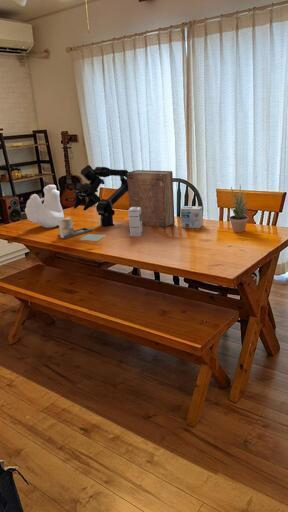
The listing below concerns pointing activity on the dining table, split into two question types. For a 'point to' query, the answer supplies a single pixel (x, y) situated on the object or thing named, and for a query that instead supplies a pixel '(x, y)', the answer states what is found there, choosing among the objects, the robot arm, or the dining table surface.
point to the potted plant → (239, 213)
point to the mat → (92, 237)
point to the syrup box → (135, 221)
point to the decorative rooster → (45, 208)
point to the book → (152, 196)
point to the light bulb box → (191, 216)
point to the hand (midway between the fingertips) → (79, 209)
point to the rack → (77, 233)
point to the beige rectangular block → (66, 227)
